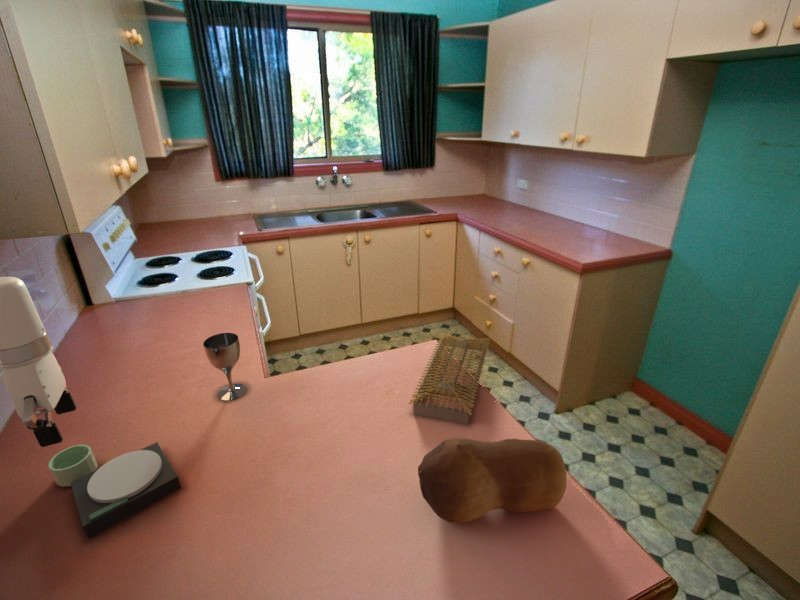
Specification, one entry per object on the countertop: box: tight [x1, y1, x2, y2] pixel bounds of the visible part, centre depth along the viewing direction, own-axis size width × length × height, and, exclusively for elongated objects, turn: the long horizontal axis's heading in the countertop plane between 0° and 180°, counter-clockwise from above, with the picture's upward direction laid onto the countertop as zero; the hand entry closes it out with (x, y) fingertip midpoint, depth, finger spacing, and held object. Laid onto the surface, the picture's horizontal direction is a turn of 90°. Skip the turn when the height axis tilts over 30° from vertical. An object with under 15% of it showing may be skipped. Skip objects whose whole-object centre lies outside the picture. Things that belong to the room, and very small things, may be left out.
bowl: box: [47, 444, 99, 487], centre depth 84 cm, size 7×7×5 cm
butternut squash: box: [417, 436, 568, 524], centre depth 73 cm, size 14×13×25 cm
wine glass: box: [202, 332, 248, 402], centre depth 105 cm, size 8×8×15 cm
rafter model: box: [408, 332, 491, 425], centre depth 110 cm, size 35×14×6 cm, turn 162°
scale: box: [70, 441, 182, 540], centre depth 80 cm, size 15×13×4 cm
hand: (60, 426), depth 80 cm, fingers open, 9 cm apart
